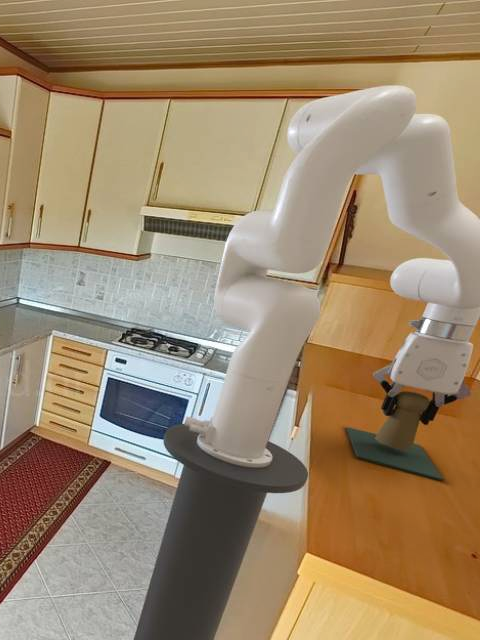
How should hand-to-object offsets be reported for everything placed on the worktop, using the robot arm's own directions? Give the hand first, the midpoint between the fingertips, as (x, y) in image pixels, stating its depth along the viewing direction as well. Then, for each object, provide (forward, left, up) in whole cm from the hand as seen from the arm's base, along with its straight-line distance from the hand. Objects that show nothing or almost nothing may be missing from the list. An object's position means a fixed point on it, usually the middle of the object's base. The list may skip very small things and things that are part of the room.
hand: (404, 417), depth 98 cm
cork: (0, 0, -6) cm, 6 cm away
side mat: (0, 0, -8) cm, 8 cm away
